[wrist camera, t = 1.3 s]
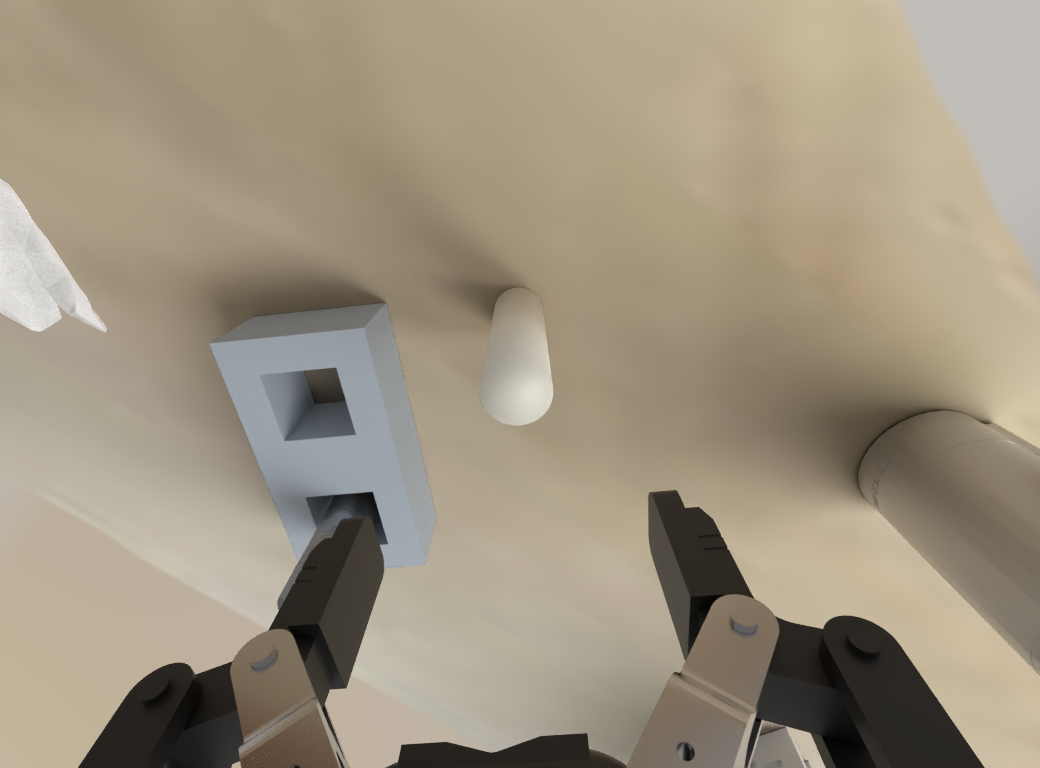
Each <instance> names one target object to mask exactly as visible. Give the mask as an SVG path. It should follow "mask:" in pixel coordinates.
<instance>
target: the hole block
mask: <svg viewBox="0 0 1040 768" xmlns="http://www.w3.org/2000/svg"><path fill="white" fill-rule="evenodd" d="M209 345H210V347H211V350H212V352H213V354H214V357H215V359H216V362H217V364H218V367H219V369H220V372H221V374H222V376H223V379H224V381H225V384H226V386H227V389H228V391H229V394H230V396H231V398H232V401H233V403H234V406H235V408H236V411H237V413H238V416H239V418H240V420H241V423H242V425H243V428H244V430H245V433H246V435H247V438H248V440H249V442H250V445H251V447H252V450H253V452H254V455H255V457H256V460H257V462H258V464H259V467H260V469H261V472H262V474H263V477H264V479H265V482H266V484H267V486H268V489H269V491H270V494H271V496H272V499H273V501H274V504H275V506H276V508H277V511H278V513H279V516H280V518H281V521H282V523H283V525H284V528H285V530H286V533H287V535H288V538H289V540H290V543H291V545H292V547H293V550H294V552H295V555H296V557H297V560H298V562H299V560H300V558H301V556H302V554H303V553H304V551H305V549H306V547H307V545H308V543H309V542H310V540H311V538H312V536H313V534H314V532H315V531H316V529H317V527H318V525H319V523H320V521H321V520H322V518H323V516H324V514H325V512H326V510H327V509H328V507H329V505H330V503H331V501H332V499H333V498H334V496H335V495H339V494H351V493H363V492H373V494H374V497H375V501H376V504H377V508H378V511H377V514H376V516H375V519H374V521H373V525H374V528H375V532H376V535H377V538H378V541H379V544H380V547H381V550H382V554H383V558H384V568H392V567H405V566H418V565H425V564H426V560H427V555H428V551H429V547H430V543H431V538H432V534H433V530H434V526H435V521H436V514H435V510H434V505H433V501H432V497H431V492H430V488H429V484H428V479H427V475H426V471H425V467H424V462H423V458H422V454H421V449H420V445H419V441H418V436H417V432H416V428H415V424H414V419H413V415H412V411H411V406H410V402H409V398H408V393H407V389H406V385H405V380H404V376H403V372H402V368H401V363H400V359H399V355H398V350H397V346H396V342H395V337H394V333H393V329H392V325H391V320H390V316H389V312H388V307H387V303H379V304H369V305H360V306H350V307H341V308H331V309H322V310H312V311H303V312H293V313H284V314H274V315H264V316H255V317H252V318H250V319H249V320H247V321H245V322H244V323H242V324H240V325H239V326H237V327H235V328H234V329H232V330H231V331H229V332H227V333H226V334H224V335H222V336H221V337H219V338H218V339H216V340H214V341H213V342H211V343H209ZM325 368H336V369H337V372H338V376H339V379H340V382H341V386H342V389H343V393H344V396H345V399H346V401H341V402H331V403H320V404H315V402H314V399H313V396H312V393H311V390H310V387H309V384H308V381H307V378H306V375H305V372H304V371H305V370H315V369H325Z"/></svg>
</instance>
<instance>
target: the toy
mask: <svg viewBox="0 0 1040 768" xmlns="http://www.w3.org/2000/svg"><path fill="white" fill-rule="evenodd" d="M750 768H813V767H812V766H811V764H810V763H809V761H807V762H804V760H803V758H802V756H801V754H800V752H799V749H798V747H797V745H796V743H795V741H794V739H793V737H792V736H791V734H790V733H789V731H788V730H787V728H783V729H779V730H776V731H773V732H770V733H767V734H764V735H761V736H759V738H758V741H757V745H756V748H755V751H754V755H753V758H752V761H751V765H750Z"/></svg>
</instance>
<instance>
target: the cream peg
mask: <svg viewBox="0 0 1040 768" xmlns="http://www.w3.org/2000/svg"><path fill="white" fill-rule="evenodd" d="M479 393H480V400H481V403H482V405H483V407H484V409H485V410H486V412H487V413H488V414H489V415H490V416H491V417H493V418H494V419H495V420H497V421H499V422H501V423H504V424H508V425H525V424H529V423H532V422H534V421H536V420H538V419H539V418H540V417H542V416H543V415H544V414H545V413H546V412H547V410H548V409H549V407H550V405H551V403H552V399H553V385H552V377H551V370H550V362H549V354H548V346H547V338H546V330H545V323H544V315H543V307H542V303H541V301H540V299H539V298H538V296H537V295H536V294H535V293H534V292H532V291H530V290H529V289H526V288H521V287H516V288H511V289H508V290H506V291H505V292H503V293H502V294H501V295H500V296H499V297H498V299H497V301H496V303H495V307H494V312H493V318H492V323H491V329H490V334H489V340H488V346H487V351H486V357H485V362H484V368H483V373H482V379H481V384H480V392H479Z"/></svg>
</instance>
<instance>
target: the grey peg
mask: <svg viewBox="0 0 1040 768" xmlns="http://www.w3.org/2000/svg"><path fill="white" fill-rule="evenodd" d="M377 511H378V508H377V504H376V501H375V497H374V494H373V492H363V493H351V494H339V495H335V496H334V498H333V499H332V501H331V503H330V505H329V507H328V509H327V510H326V512H325V514H324V516H323V518H322V520H321V521H320V523H319V525H318V527H317V529H316V531H315V532H314V534H313V536H312V538H311V540H310V542H309V543H308V545H307V547H306V549H305V551H304V553H303V554H302V556H301V558H300V560H299V562H298V564H297V565H296V567H295V569H294V571H293V573H292V575H291V576H290V578H289V580H288V582H287V584H286V586H285V587H284V589H283V591H282V593H281V595H280V597H279V599H278V609H279V610H280V608H281V606H282V604H283V602H284V600H285V598H286V597H287V595H288V593H289V591H290V589H291V587H292V585H293V584H295V580H296V578H297V576H298V574H299V572H300V571H302V567H303V565H304V563H305V561H306V559H307V557H308V555H309V553H310V552H311V551H312V550H313V549H314V548H315V547H316V546H317V545H318V544H319V543H320V542H321V541H322V540H323V539H324V538H332V536H333V534H334V532H335V530H336V528H337V526H338V524H339V522H340V521H341V520H342V519H345V518H357V517H370V518H371V520H372V522H373V521H374V519H375V516H376V514H377Z"/></svg>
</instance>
